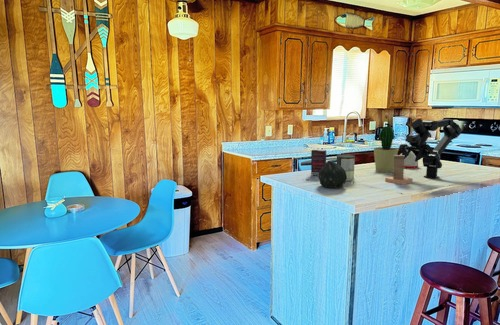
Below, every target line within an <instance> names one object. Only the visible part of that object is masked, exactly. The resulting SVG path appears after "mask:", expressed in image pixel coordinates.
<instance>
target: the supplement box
mask: <svg viewBox="0 0 500 325" xmlns="http://www.w3.org/2000/svg"><path fill="white" fill-rule="evenodd" d="M310 156H311V158H310V159H311V160H310V161H311V162H310V163H311V164H310V166H311V167H310V168H311V169H310V170H311V171H310V174H311V175H310V176H313V175H318V176H319V172H320V170H321V168H322V167H323V166H324V165H325V164H326V163H327V150H326V149H325V150H324V149H311V154H310ZM318 176H317V177H318Z"/></svg>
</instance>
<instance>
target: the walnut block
mask: <svg viewBox="0 0 500 325" xmlns="http://www.w3.org/2000/svg"><path fill="white" fill-rule="evenodd" d="M404 170H405V168H404V155H401V154H397V155H394V170H393V172H392V173H393V174H392V175H393V176H392V177H393V178H394V179H403V177H404V172H405V171H404Z"/></svg>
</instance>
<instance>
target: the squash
mask: <svg viewBox="0 0 500 325" xmlns="http://www.w3.org/2000/svg"><path fill="white" fill-rule="evenodd" d="M317 178H318V180H319V184H320V185H321V186H322V187H324V188H328V189H330V188H333V189H337V188H338V189H339V188H342V187H343V186H344V184H346V182H347V181H346V179H347V176H346V172H345V170H344V169H343V168H342V167H341V166H340V165H338V164H337V162H334V161H332V160H327V161H326V164H325V165H324V166H323V167H322V168H321V170H320V172H319V176H317Z"/></svg>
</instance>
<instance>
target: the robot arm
mask: <svg viewBox="0 0 500 325" xmlns="http://www.w3.org/2000/svg"><path fill="white" fill-rule="evenodd" d="M410 127H411V129H412V130H413V131H414V133H415V135H406V137H405V140H404V141H405V142H406V143H401V144H400V145H399V146H398V149H399V150H401V154H402V155H404V159H405V158H406V157H407V156H408V155H409V153H410V152H411V151H415V152H417V151H418V153H417V155H415V156H416V158H415V162H417V161H418V162H419V161H420V160H422V166H423V167H424V168H426V172H425V175H423V177H424V178H427V179H433V180H434V179H438V178H440V176H438V169H441V168H442V166H443V164H442V162H441V155H442V154H443V152H444V151H445V149H446V148H447V147H448V146H449V145H450V144H451V142H452V141H453V140H454V139H457V138H459V136H460V135H461V134H462V128H461V126H460V125H459V124H458V123H456V122H455V120H454V119H451V118H444V119H438V120H422V118H417V119H415V120H414V121H413V122H411V124H410ZM439 128H442V130H443V136H442V137H441V139H440V140H439V142H438V143H437V144H436V145H435V147H434V148H432V146H430V145H429V144H428V143H427V141H428V139H430V138H432V134H431V132H434V131H437V130H438V129H439ZM407 143H408V144H407Z"/></svg>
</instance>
